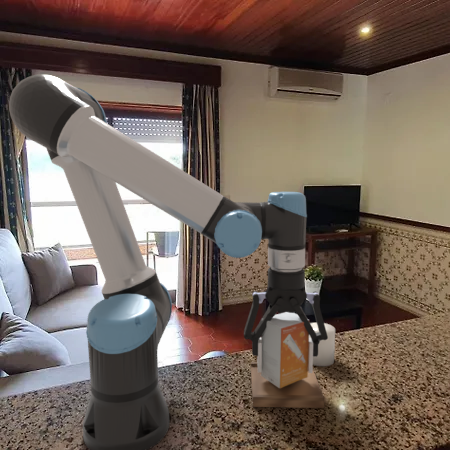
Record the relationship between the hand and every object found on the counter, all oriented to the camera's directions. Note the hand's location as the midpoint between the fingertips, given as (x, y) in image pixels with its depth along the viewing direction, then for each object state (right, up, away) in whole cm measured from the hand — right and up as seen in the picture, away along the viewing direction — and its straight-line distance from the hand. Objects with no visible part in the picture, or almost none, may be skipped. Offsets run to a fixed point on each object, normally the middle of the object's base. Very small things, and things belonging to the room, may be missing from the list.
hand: (284, 369), depth 83 cm
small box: (0, -2, 0) cm, 2 cm away
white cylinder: (+11, -2, +14) cm, 18 cm away
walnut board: (0, -4, +1) cm, 4 cm away
